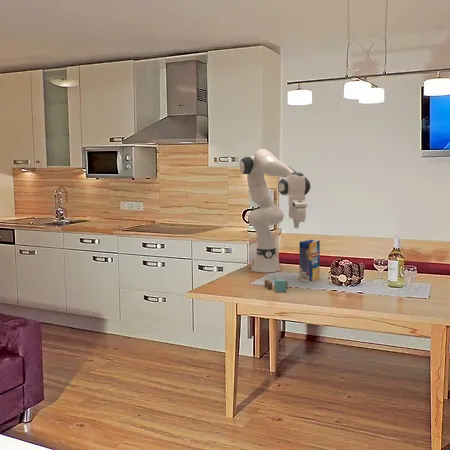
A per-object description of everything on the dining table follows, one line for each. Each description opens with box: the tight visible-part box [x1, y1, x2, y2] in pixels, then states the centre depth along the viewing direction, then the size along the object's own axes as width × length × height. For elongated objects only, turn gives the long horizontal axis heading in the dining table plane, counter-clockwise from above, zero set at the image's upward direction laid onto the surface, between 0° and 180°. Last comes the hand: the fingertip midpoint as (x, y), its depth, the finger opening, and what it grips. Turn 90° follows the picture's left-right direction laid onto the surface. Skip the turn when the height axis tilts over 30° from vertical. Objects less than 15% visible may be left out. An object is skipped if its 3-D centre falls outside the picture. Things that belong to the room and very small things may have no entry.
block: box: [274, 278, 287, 293], centre depth 300 cm, size 5×5×6 cm
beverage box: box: [299, 239, 321, 282], centre depth 327 cm, size 7×11×22 cm, turn 141°
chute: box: [264, 279, 288, 291], centre depth 309 cm, size 9×10×4 cm
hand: (296, 228), depth 311 cm, fingers closed
